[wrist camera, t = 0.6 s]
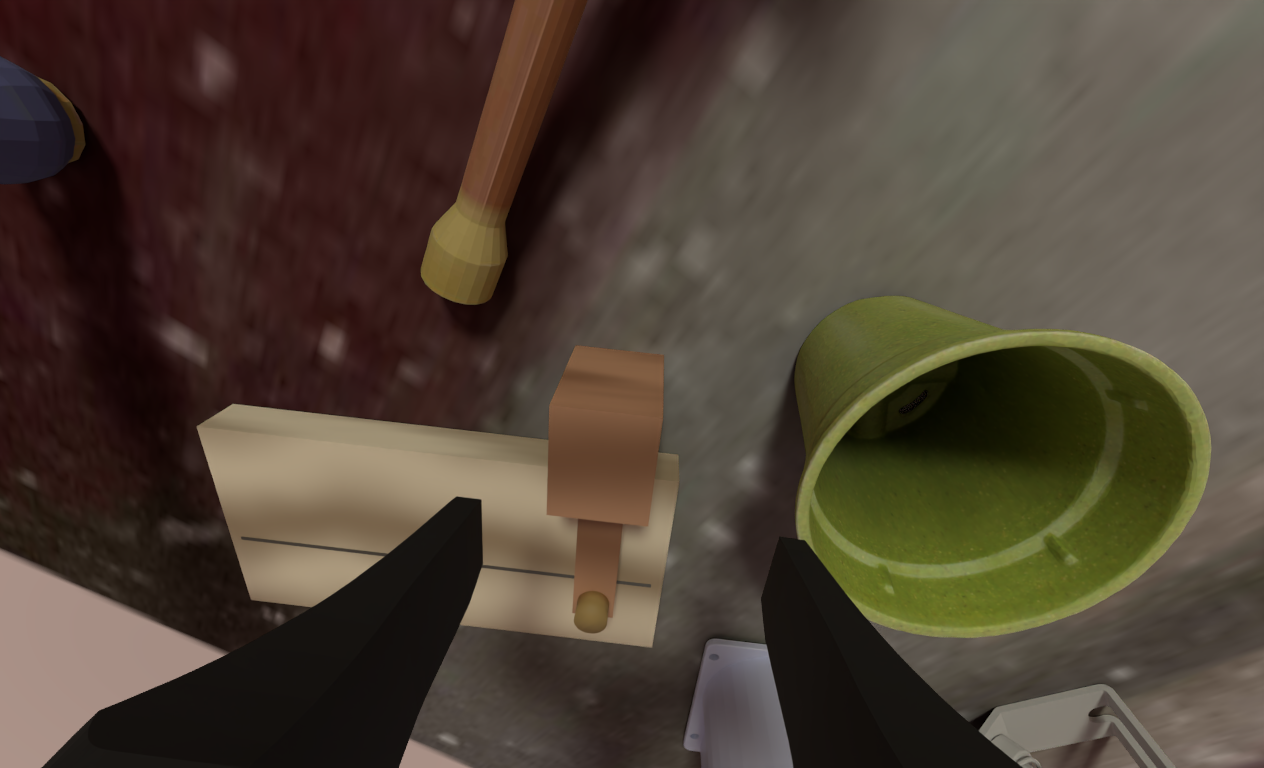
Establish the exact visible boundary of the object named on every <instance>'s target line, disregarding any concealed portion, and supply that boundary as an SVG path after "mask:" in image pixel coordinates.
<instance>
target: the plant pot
mask: <svg viewBox="0 0 1264 768" xmlns="http://www.w3.org/2000/svg"><path fill="white" fill-rule="evenodd" d="M794 384H795V392H796V398H797V404H798V409H799V414H800V420H801V426H802V432H803V438H804V445H805V451H806V459H805V465H804V470H803V473H802V475H801V478H800V482H799V485H798V490H797V495H796V502H795V524H796V532H797V538H798V539H800V540H805V541H806V542H807V543H808V545H809V546H810V547H811V548H812V550H813V551H814V552H815V554H816V555H817V556H818V558H819V559H820V560H821V562H822V563H823V564H824V566H825V567H826V568H827V570H828V571H829V572H830V574H831V575H832V576H833V577H834V579H835V580H836V581H837V583H838V584H839V585H840V587H841V588H842V589H843V590H844V592H845V593H846V594H847V595H848V597H849V598H850V599H851V600H852V602H853V603H854V604H855V605H856V607H857V608H858V609H859V610H860V611H861V613H862V614H863V615H864V616H865V617H866V619H868V620H870V621H872V622H875V623H878V624H880V625H882V626H886V627H889V628H892V629H895V630H901V631H905V632H909V633H913V634H920V635H925V636H933V637H958V638H976V637H986V636H996V635H1002V634H1008V633H1013V632H1018V631H1022V630H1026V629H1030V628H1034V627H1038V626H1041V625H1045V624H1048V623H1051V622H1053V621H1056V620H1059V619H1063V618H1065V617H1068V616H1070V615H1074V614H1076V613H1079V612H1081V611H1083V610H1085V609H1087V608H1089V607H1091V606H1093V605H1095V604H1097V603H1099V602H1100V601H1103V600H1105V599H1106V598H1108V597H1109V596H1111V595H1113V594H1114V593H1116V592H1118V591H1120V590H1121V589H1123V588H1125V587H1126V586H1127V585H1129V584H1130V583H1131V582H1133V581H1134V580H1136V579H1137V578H1138V577H1140V576H1141V575H1142V574H1143V573H1144V572H1145V571H1146V570H1147V569H1148V568H1149V567H1150V566H1152V565H1153V564H1154V563H1155V562H1156V561H1157V560H1158V559H1159V558H1160V557H1161V556H1162V555H1163V554H1164V553H1165V552H1166V551H1167V550H1168V548H1169V547H1170V546H1171V544H1172V543H1173V542H1174V541H1175V540H1176V539H1177V538H1178V537H1179V536H1180V534H1181V533H1182V531H1183V530H1184V528H1185V526H1186V525H1187V523H1188V521H1189V520H1190V518H1191V516H1192V515H1193V513H1194V512H1195V510H1196V508H1197V506H1198V503H1199V501H1200V500H1201V497H1202V495H1203V493H1204V490H1205V486H1206V482H1207V479H1208V474H1209V467H1210V457H1211V438H1210V432H1209V428H1208V423H1207V420H1206V417H1205V414H1204V412H1203V410H1202V408H1201V405H1200V403H1199V401H1198V399H1197V397H1196V395H1195V394H1194V393H1193V392H1192V390H1191V388H1190V387H1189V386H1188V385H1187V383H1186V382H1185V381H1184V380H1183V379H1182V378H1181V377H1180V376H1179V375H1178V374H1176V373H1175V372H1174V371H1173V370H1172V369H1170V368H1169V367H1168V366H1166V365H1165V364H1164V363H1163V362H1161V361H1160V360H1158V359H1157V358H1155V357H1153V356H1152V355H1150V354H1148V353H1146V352H1144V351H1142V350H1140V349H1137V348H1135V347H1132V346H1130V345H1127V344H1124V343H1122V342H1119V341H1116V340H1113V339H1110V338H1106V337H1103V336H1099V335H1095V334H1090V333H1084V332H1078V331H1071V330H1059V329H1023V330H1002V329H1000V328H997V327H994V326H991V325H988V324H985V323H982V322H979V321H976V320H973V319H970V318H967V317H964V316H961V315H959V314H956V313H953V312H950V311H947V310H945V309H942V308H939V307H936V306H933V305H930V304H927V303H925V302H922V301H919V300H916V299H913V298H909V297H905V296H883V297H874V298H867V299H860V300H857V301H854V302H852V303H849V304H847V305H845V306H843V307H841V308H839V309H838V310H836V311H834V312H833V313H831V314H830V315H828V316H827V317H826V318H825V319H823V320H822V321H821V322H820V323H819V324H818V325H817V326H816V327H815V328H814V329H813V331H812V332H811V333H810V335H809V336H808V337H807V339H806V340H805V342H804V344H803V345H802V347H801V349H800V352H799V354H798V358H797V362H796V368H795V378H794ZM924 390H927V394H928V395H927V396H926V397H925V398H924V400H923V401H922V402H921V403H919V404H918V405H917V406H916V407H915V408H913V409H912V410H911V411H909V412H908V413H904V414H901V413H899V410H900V409H902V408H903V407H904V406H906V405H907V404H909V403H911V402H913V401H914V400H915V399H916V398H917V397H919V395H920V394H921V393H923V391H924Z"/></svg>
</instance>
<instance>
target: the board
mask: <svg viewBox="0 0 1264 768" xmlns="http://www.w3.org/2000/svg"><path fill="white" fill-rule="evenodd" d="M197 429H198V433H199V436H200V439H201V442H202V445H203V449H204V452H205V455H206V458H207V461H208V464H209V468H210V471H211V474H212V477H213V480H214V484H215V487H216V490H217V493H218V496H219V499H220V503H221V506H222V509H223V512H224V515H225V518H226V522H227V525H228V528H229V531H230V534H231V538H232V541H233V544H234V547H235V550H236V553H237V557H238V560H239V563H240V566H241V569H242V573H243V576H244V579H245V582H246V585H247V588H248V592H249V595H250V598H251V600H256V601H264V602H273V603H281V604H290V605H298V606H307V607H313V606H315V605H317V604H318V603H320V602H321V601H323V600H324V599H326V598H328V597H329V596H331V595H332V594H334V593H335V592H336V591H338V590H339V589H341V588H342V587H344V586H345V585H347V584H348V583H349V582H351V581H352V580H354V579H355V578H356V577H358V576H359V575H360V574H362V573H363V572H364V571H366V570H367V569H368V568H370V567H371V566H372V565H374V564H375V563H377V562H378V561H379V560H381V559H382V558H383V557H384V556H386V555H387V554H388V553H389V552H391V551H392V550H393V549H394V548H396V547H397V546H398V545H399V544H401V543H402V542H403V541H404V540H405V539H407V538H408V537H409V536H410V535H412V534H413V533H414V532H415V531H416V530H417V529H419V528H420V527H421V526H422V525H423V524H424V523H426V522H427V521H428V520H429V519H430V518H431V517H433V516H434V515H435V514H436V513H437V512H438V511H439V510H441V509H442V508H443V507H444V506H445V505H446V504H447V503H449V502H450V501H451V500H452V499H454V498H455V497H456V496H458V497H466V498H474V499H482V541H483V565H482V568H481V571H480V574H479V577H478V580H477V583H476V586H475V589H474V592H473V595H472V598H471V601H470V604H469V606H468V608H467V610H466V612H465V615H464V617H463V619H462V621H461V623H460V625H466V626H475V627H483V628H492V629H500V630H509V631H517V632H525V633H534V634H542V635H551V636H559V637H567V638H576V639H584V640H593V641H601V642H610V643H618V644H626V645H635V646H643V647H652V644H653V638H654V632H655V626H656V620H657V614H658V608H659V602H660V596H661V590H662V584H663V578H664V572H665V565H666V559H667V553H668V547H669V541H670V535H671V529H672V523H673V517H674V511H675V505H676V499H677V493H678V487H679V460H678V455H677V454H668V453H659V452H658V458H657V466H656V473H655V480H654V488H653V495H652V502H651V509H650V517H649V524H648V527H647V526H638V525H629V524H623V528H622V537H621V546H620V555H619V564H618V573H617V582H616V591H615V600H614V609H613V618H610V617H608V620H607V626H606V628H605V629H604V630H603V631H601V632H599V633H594V634H591V633H585V632H583V631H581V630H579V629H578V628H577V627H576V626H575V624H574V616H575V613H572V608H573V592H574V575H575V559H576V543H577V526H578V519H577V518H568V517H560V516H551V515H546V514H547V477H548V440H545V439H536V438H527V437H518V436H510V435H501V434H492V433H483V432H475V431H466V430H457V429H448V428H439V427H431V426H422V425H413V424H404V423H395V422H387V421H378V420H369V419H360V418H352V417H343V416H334V415H325V414H316V413H308V412H299V411H290V410H281V409H272V408H264V407H255V406H246V405H237V404H232V405H231V406H229V407H227V408H226V409H224V410H223V411H221V412H219V413H218V414H216V415H215V416H213V417H211V418H210V419H208V420H206V421H205V422H203V423H202V424H200V425H198V426H197Z"/></svg>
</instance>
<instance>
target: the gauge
mask: <svg viewBox="0 0 1264 768" xmlns="http://www.w3.org/2000/svg"><path fill="white" fill-rule="evenodd" d="M663 387H664V355H659V354H650V353H640V352H631V351H622V350H613V349H604V348H595V347H586V346H577V345H576V346H575V348H574V350H573V352H572V355H571V357H570V359H569V362H568V364H567V366H566V369H565V371H564V373H563V375H562V378H561V380H560V382H559V385H558V387H557V389H556V391H555V394H554V396H553V398H552V401H551V403H550V405H549V440H548V477H547V514H546V515H551V516H560V517H568V518H577V519H578V526H577V543H576V559H575V575H574V592H573V608H572V613H575V616H574V624H575V626H576V627H577V628H578V629H579V630H581V631H583V632H585V633H591V634H594V633H599V632H601V631H603V630H604V629H605V628H606V626H607V620H608V617H610V618H613V609H614V600H615V591H616V582H617V573H618V564H619V555H620V546H621V537H622V528H623V524H629V525H638V526H647V527H648V524H649V517H650V509H651V502H652V495H653V488H654V480H655V473H656V466H657V458H658V451H659V444H660V437H661V429H662V422H663Z"/></svg>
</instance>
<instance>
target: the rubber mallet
mask: <svg viewBox="0 0 1264 768" xmlns="http://www.w3.org/2000/svg"><path fill="white" fill-rule="evenodd" d="M84 147H85V138H84V130H83V124H82V122H81V120H80V118H79V116H78V114H77V113H76V111H75V109H74V107H73V105H72V103H71V102H70V101H69V100H68V99H67V98H66V97H65V96H64V95H63V94H62V93H61V92H60V91H59V90H58V89H57V88H56V87H55V86H54V85H53V84H52V83H50V82H47V81H45V80H43V79H41V78H39V77H37V76H35V75H33V74H31V73H29V72H28V71H26V70H24V69H23V68H21V67H19V66H17V65H16V64H14V63H12V62H10V61H8V60H6V59H4V58H2V57H1V56H0V184H19V183H29V182H33V181H36V180H40V179H43V178H47V177H51V176H54V175H56V174H57V173H58V172H59V171H61V170H62V169H63V168H64V167H65V166H66V165H67V164H68V163H70V162H73V161H76V160H78V159H79V157H80V155H81V153H82V151H83V149H84Z"/></svg>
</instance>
